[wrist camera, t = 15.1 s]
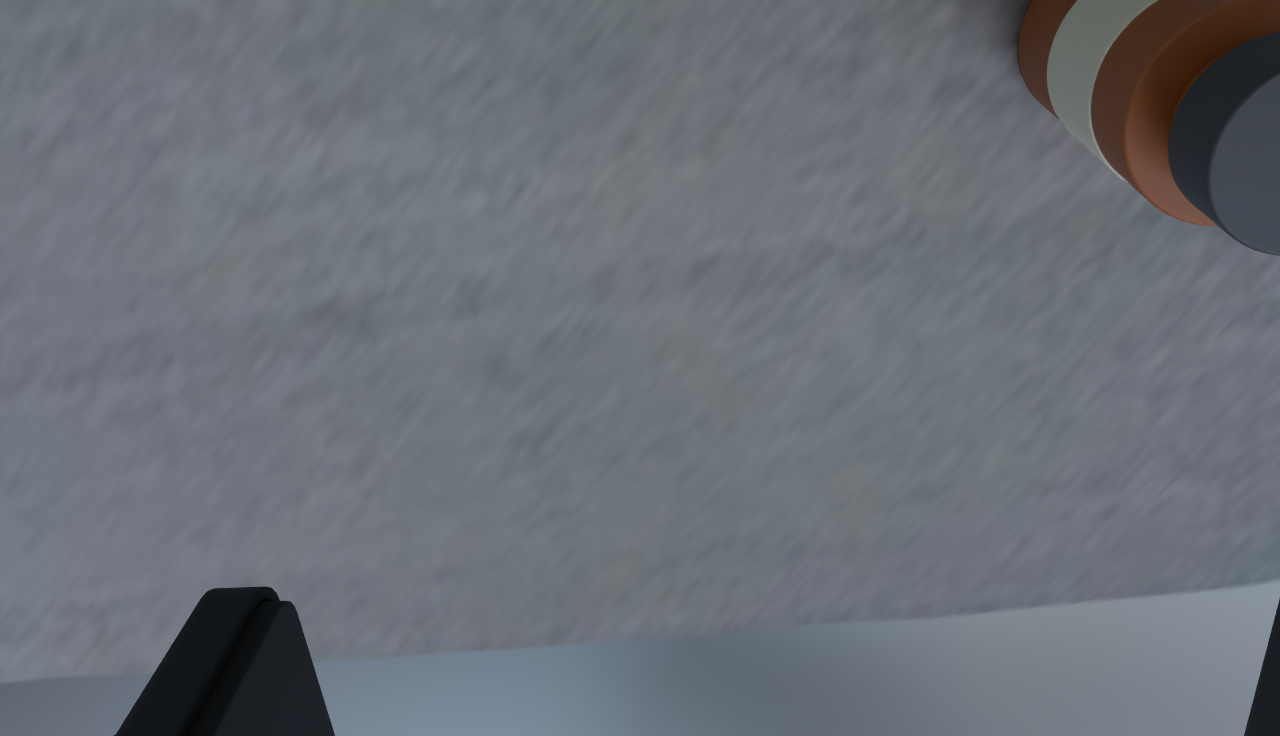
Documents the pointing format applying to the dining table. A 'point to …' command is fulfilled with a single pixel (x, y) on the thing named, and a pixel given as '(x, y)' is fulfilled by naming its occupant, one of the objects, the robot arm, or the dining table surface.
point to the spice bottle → (1170, 101)
